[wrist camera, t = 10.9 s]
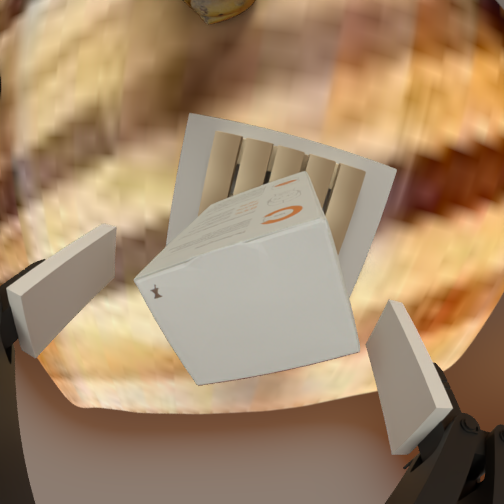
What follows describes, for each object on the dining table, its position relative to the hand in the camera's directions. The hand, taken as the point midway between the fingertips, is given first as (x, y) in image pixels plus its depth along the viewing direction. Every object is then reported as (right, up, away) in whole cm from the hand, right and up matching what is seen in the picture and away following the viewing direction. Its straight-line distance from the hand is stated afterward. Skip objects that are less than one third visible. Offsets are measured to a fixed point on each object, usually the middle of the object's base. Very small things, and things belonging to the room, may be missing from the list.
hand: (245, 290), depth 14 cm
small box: (+2, +4, +10) cm, 11 cm away
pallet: (+2, +5, +12) cm, 14 cm away
